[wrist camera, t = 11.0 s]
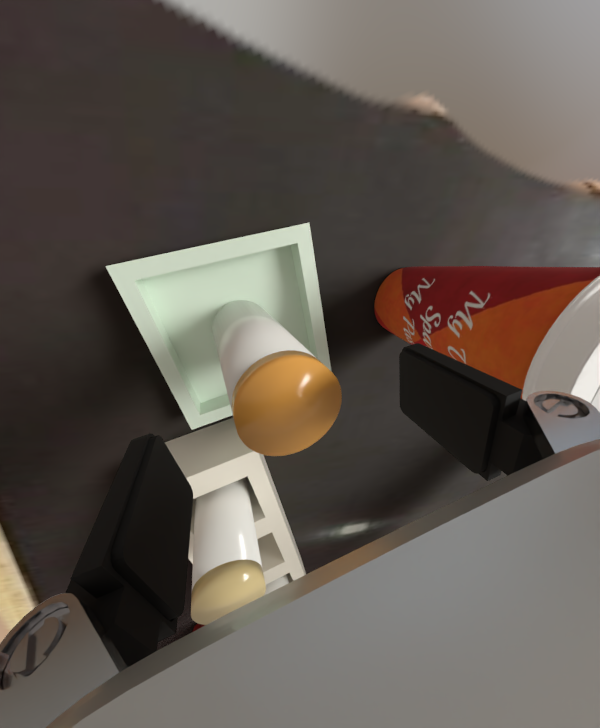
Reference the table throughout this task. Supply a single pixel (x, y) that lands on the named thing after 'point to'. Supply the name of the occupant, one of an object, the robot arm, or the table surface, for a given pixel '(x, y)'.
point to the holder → (236, 461)
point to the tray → (208, 295)
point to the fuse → (225, 554)
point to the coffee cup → (503, 322)
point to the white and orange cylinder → (272, 382)
